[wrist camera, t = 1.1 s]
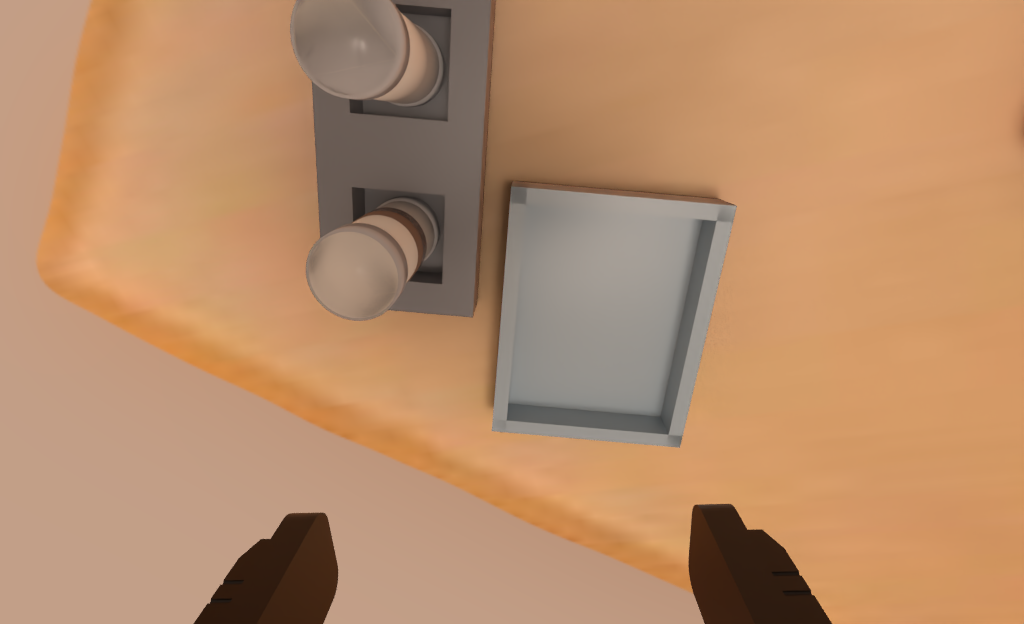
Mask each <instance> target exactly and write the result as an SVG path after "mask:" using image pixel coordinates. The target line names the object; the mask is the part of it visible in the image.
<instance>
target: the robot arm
mask: <svg viewBox="0 0 1024 624" xmlns="http://www.w3.org/2000/svg"><path fill="white" fill-rule="evenodd" d="M689 575H690V581H691V585H692V589H693V593H694V596H695V598H696V601H697V604H698V607H699V609H700V612H701V615H702V617H703V620H704V623H705V624H832V623H831V621H830V620H829V618H828V617H827V615H826V613H825V612H824V610H823V609H822V607H821V606H820V604H819V602H818V601H817V599H816V598H815V596H814V595H812V594H811V590H810V588H809V587H808V585H807V583H806V582H805V580H804V579H803V577H802V576H800V575H799V571H798V569H797V568H796V566H795V564H794V563H793V561H792V560H791V558H790V557H789V555H788V553H787V552H786V550H785V549H784V548H783V547H782V546H781V545H780V544H778V543H777V542H776V541H775V540H774V539H773V538H771V537H770V536H769V535H768V534H767V533H765V532H764V531H763V530H747V528H746V527H745V525H744V523H743V521H742V519H741V518H740V516H739V514H738V512H737V511H736V509H735V508H734V506H733V505H731V504H707V505H695V506H694V507H693V511H692V522H691V535H690V548H689ZM337 582H338V566H337V560H336V556H335V551H334V546H333V541H332V536H331V531H330V527H329V522H328V518H327V516H326V514H325V513H292V514H288V515H287V516H286V517H285V518H284V519H283V521H282V522H281V524H280V525H279V527H278V528H277V530H276V531H275V533H274V535H273V536H272V538H271V539H261V540H260V541H259V542H257V543H256V544H255V545H254V546H253V547H252V548H250V549H249V550H248V551H247V552H246V553H244V554H243V555H242V556H241V557H240V558H239V559H238V560H237V562H236V563H235V565H234V566H233V568H232V569H231V570H230V572H229V573H228V575H227V576H226V578H225V579H224V583H223V585H220V586H219V588H218V589H217V591H216V592H215V594H214V595H213V597H212V598H211V602H210V604H207V605H206V607H205V608H204V609H203V611H202V612H201V614H200V615H199V617H198V618H197V620H196V621H195V623H194V624H323V623H324V620H325V618H326V615H327V613H328V611H329V608H330V606H331V603H332V601H333V599H334V596H335V593H336V588H337Z"/></svg>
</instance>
